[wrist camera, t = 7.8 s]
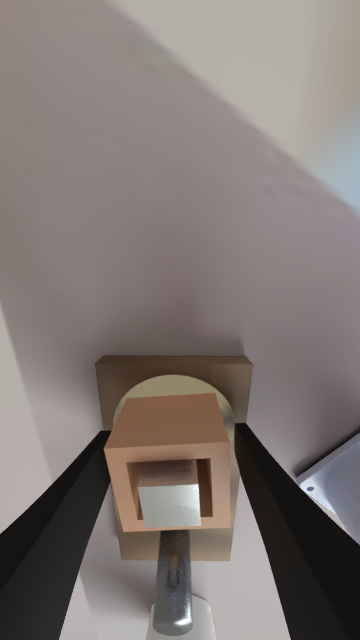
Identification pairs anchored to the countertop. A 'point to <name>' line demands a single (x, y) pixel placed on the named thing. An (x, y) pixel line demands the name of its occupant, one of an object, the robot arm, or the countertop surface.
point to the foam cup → (203, 627)
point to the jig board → (235, 386)
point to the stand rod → (173, 584)
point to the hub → (173, 475)
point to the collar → (171, 453)
